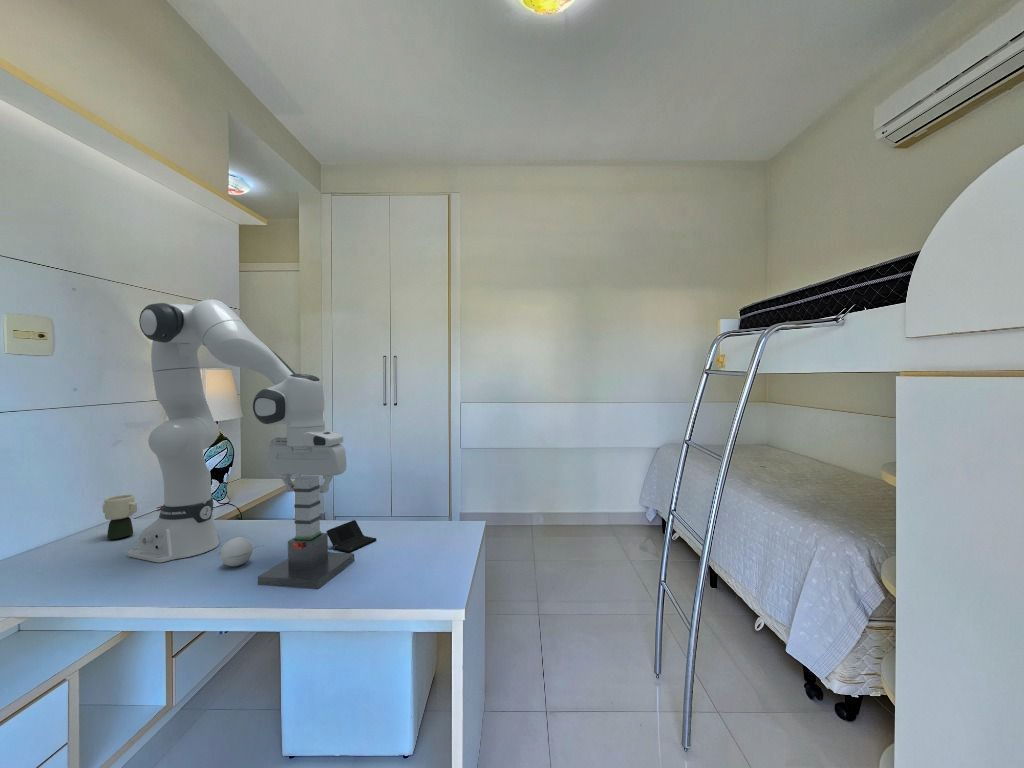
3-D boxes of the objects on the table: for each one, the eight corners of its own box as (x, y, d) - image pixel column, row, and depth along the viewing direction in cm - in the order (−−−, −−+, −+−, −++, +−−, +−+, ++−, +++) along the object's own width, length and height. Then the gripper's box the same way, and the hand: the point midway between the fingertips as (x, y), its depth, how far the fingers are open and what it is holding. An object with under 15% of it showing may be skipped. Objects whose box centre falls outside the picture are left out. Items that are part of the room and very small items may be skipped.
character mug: (146, 533, 142) (145, 494, 142) (126, 541, 135) (125, 500, 135) (114, 533, 142) (113, 494, 142) (92, 541, 135) (92, 500, 135)
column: (295, 542, 109) (293, 479, 109) (306, 536, 113) (304, 475, 113) (310, 543, 108) (309, 479, 108) (320, 537, 112) (319, 475, 112)
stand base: (257, 584, 104) (256, 547, 104) (301, 557, 120) (300, 525, 120) (318, 589, 101) (317, 550, 101) (354, 560, 117) (353, 527, 117)
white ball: (217, 573, 111) (217, 545, 111) (223, 562, 117) (222, 535, 117) (262, 566, 115) (262, 538, 115) (265, 556, 122) (264, 529, 122)
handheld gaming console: (355, 548, 122) (339, 518, 125) (337, 562, 123) (322, 532, 126) (379, 540, 133) (364, 512, 136) (363, 553, 134) (348, 525, 137)
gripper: (260, 439, 109) (262, 493, 109) (335, 439, 106) (336, 496, 106) (278, 435, 115) (279, 487, 115) (349, 436, 112) (350, 489, 112)
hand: (307, 491), depth 111 cm, fingers open, 8 cm apart
